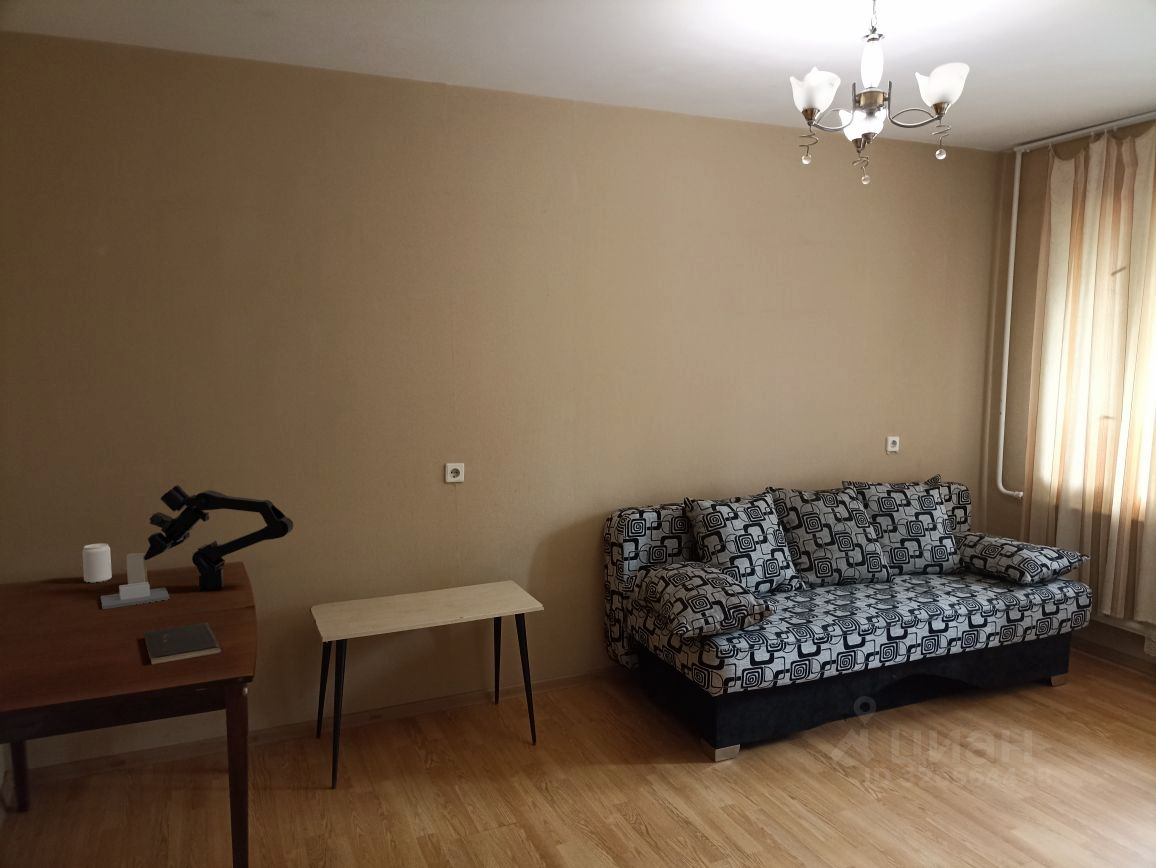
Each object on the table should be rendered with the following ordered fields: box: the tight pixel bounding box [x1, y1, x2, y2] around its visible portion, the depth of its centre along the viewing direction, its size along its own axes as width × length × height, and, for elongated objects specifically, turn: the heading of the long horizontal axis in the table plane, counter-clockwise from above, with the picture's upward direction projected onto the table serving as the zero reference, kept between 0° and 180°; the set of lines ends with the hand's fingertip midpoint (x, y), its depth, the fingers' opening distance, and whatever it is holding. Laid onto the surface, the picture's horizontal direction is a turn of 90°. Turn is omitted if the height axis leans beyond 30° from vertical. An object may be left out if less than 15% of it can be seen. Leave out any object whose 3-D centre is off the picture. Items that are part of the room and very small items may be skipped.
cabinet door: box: [124, 552, 148, 585], centre depth 262 cm, size 6×2×12 cm, turn 94°
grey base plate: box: [100, 581, 171, 610], centre depth 253 cm, size 18×13×4 cm
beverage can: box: [81, 542, 113, 584], centre depth 276 cm, size 8×8×12 cm
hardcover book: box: [142, 622, 223, 665], centre depth 210 cm, size 16×23×2 cm
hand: (151, 556), depth 262 cm, fingers open, 9 cm apart
